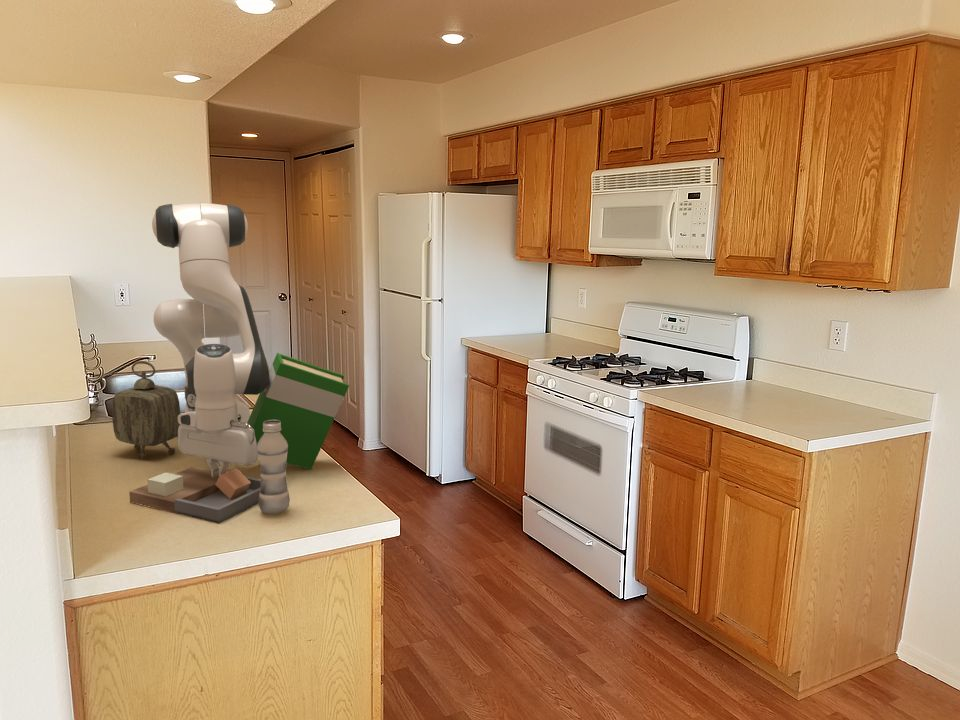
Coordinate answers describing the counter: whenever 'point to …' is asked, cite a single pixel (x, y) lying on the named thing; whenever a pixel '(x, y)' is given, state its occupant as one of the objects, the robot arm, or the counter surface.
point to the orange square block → (233, 483)
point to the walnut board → (194, 488)
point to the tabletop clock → (146, 413)
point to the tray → (220, 504)
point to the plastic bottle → (273, 469)
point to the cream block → (165, 484)
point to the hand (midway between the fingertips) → (219, 477)
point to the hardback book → (299, 406)
